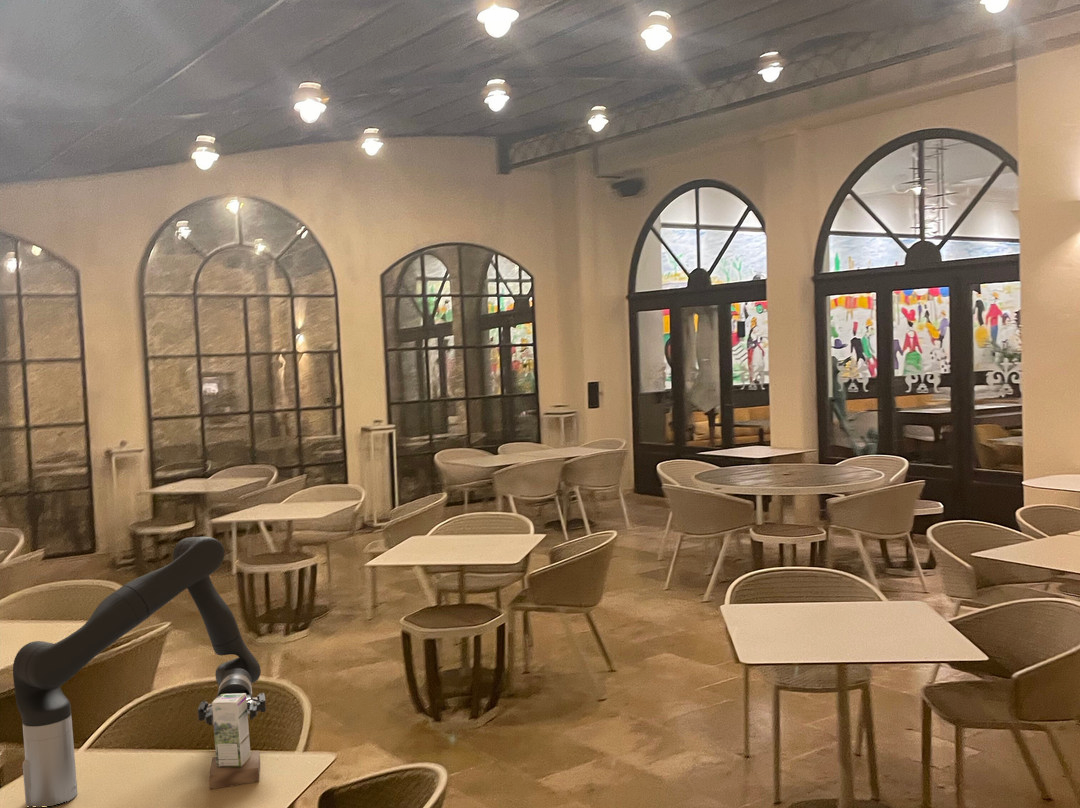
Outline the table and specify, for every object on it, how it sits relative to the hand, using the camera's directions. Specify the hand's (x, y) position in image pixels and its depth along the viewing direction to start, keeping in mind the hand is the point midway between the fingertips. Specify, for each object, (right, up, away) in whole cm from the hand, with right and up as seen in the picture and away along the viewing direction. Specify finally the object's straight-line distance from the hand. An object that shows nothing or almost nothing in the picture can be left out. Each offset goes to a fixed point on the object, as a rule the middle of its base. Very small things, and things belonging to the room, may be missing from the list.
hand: (231, 717), depth 209 cm
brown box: (0, -13, +2) cm, 14 cm away
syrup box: (0, -11, +2) cm, 11 cm away
